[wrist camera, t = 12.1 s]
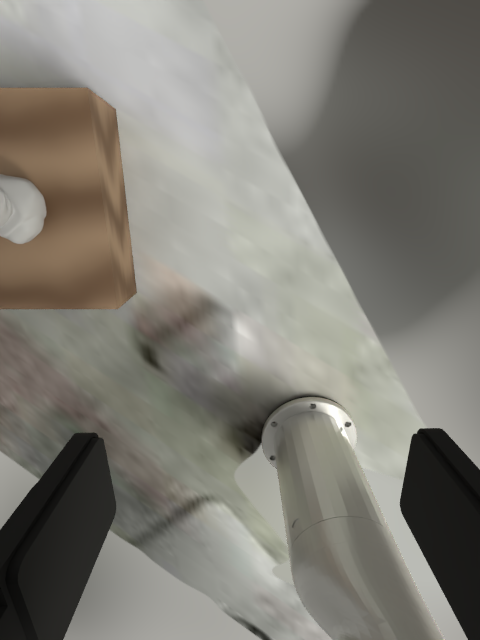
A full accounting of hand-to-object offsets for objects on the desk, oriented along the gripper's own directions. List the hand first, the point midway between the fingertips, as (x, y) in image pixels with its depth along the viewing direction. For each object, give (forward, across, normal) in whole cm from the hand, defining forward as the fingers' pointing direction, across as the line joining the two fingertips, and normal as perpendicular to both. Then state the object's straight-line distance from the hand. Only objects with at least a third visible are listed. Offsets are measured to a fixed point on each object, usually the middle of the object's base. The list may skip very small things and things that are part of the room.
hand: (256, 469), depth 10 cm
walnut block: (+28, +19, -8) cm, 35 cm away
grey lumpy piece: (+22, +20, -8) cm, 30 cm away
